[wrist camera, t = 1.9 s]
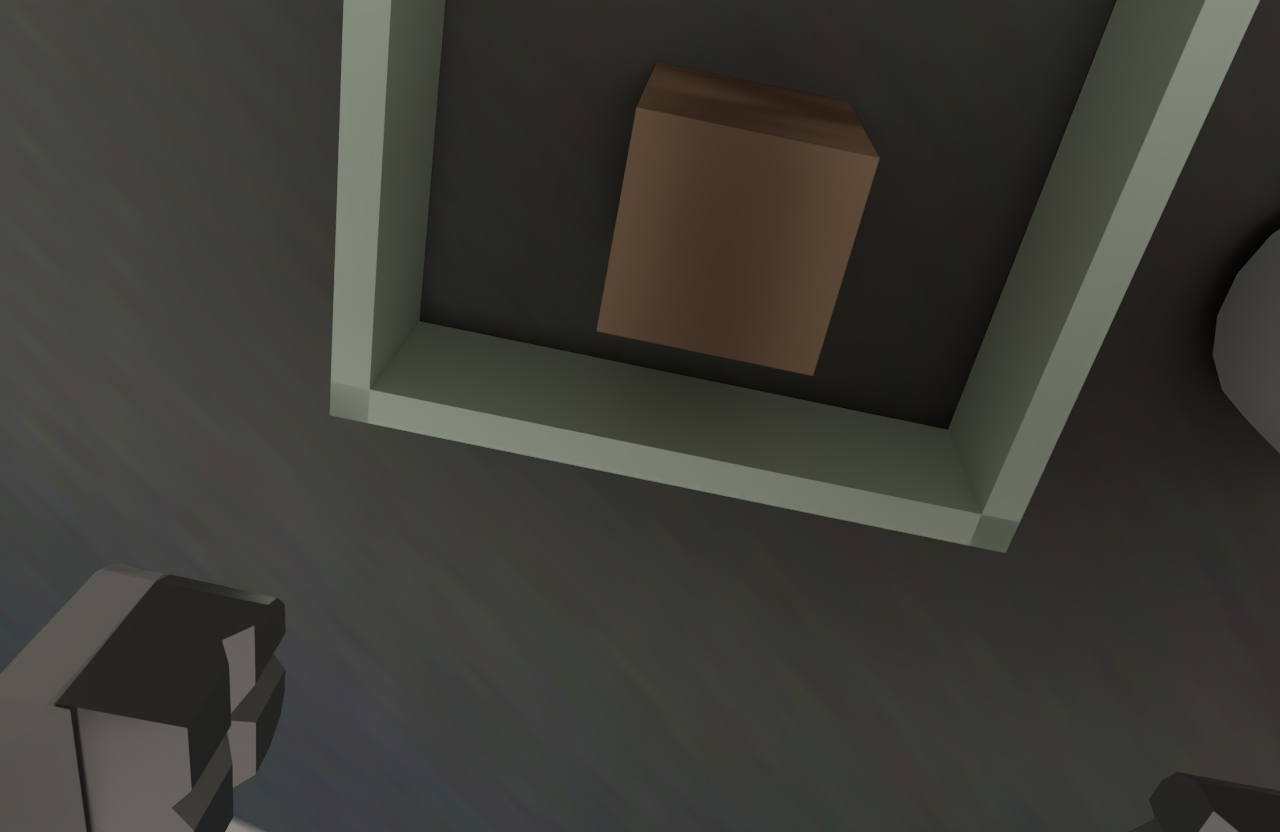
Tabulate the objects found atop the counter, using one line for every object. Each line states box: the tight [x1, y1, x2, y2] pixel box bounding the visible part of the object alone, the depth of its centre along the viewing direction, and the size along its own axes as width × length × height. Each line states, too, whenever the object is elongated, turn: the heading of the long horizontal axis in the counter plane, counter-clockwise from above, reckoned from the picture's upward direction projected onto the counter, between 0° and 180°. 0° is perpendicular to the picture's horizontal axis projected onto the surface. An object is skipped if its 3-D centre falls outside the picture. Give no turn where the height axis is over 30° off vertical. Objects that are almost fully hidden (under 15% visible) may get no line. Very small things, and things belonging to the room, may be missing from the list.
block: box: [597, 62, 880, 376], centre depth 23 cm, size 5×5×6 cm
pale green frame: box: [330, 0, 1260, 553], centre depth 23 cm, size 18×16×4 cm
